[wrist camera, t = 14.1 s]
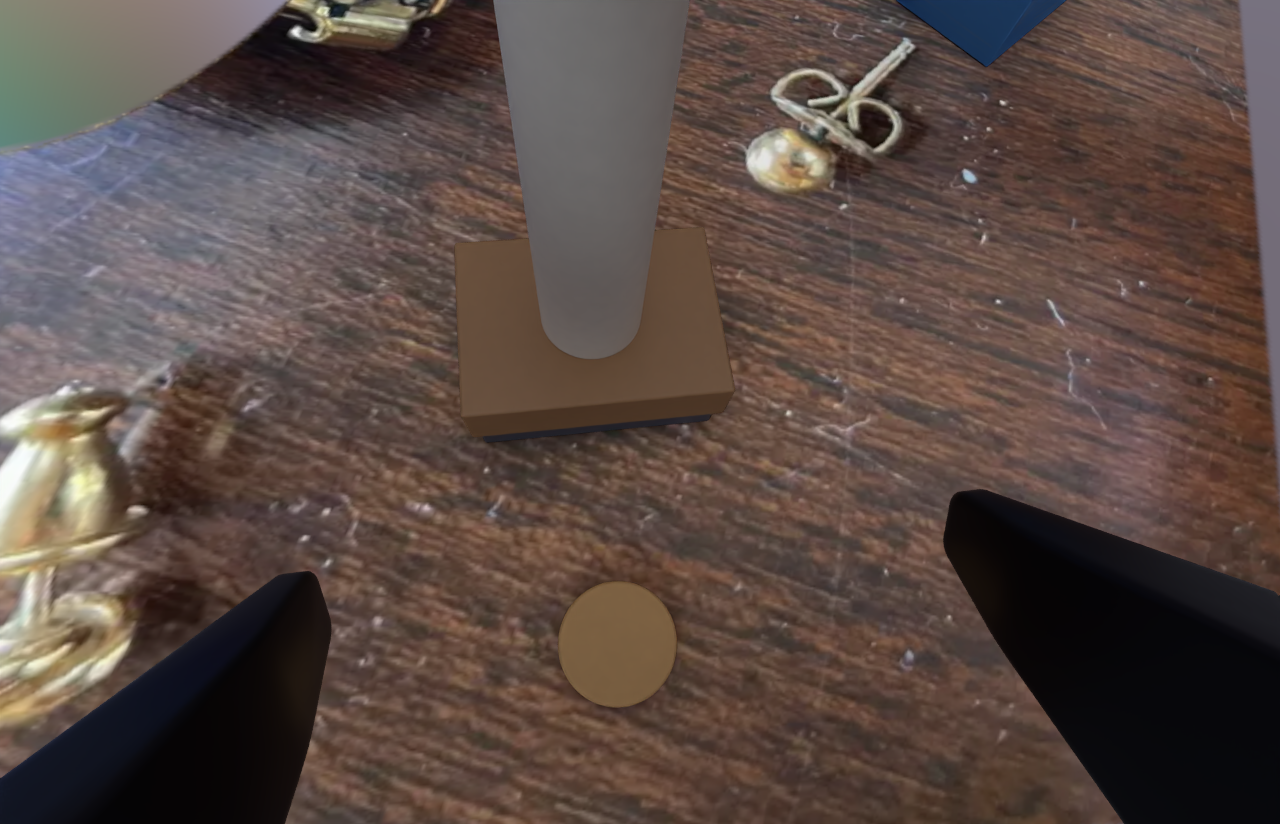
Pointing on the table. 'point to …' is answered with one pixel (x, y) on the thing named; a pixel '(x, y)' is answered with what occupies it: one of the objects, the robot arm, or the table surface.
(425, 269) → the table surface
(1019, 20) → the perfume bottle
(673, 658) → the disc
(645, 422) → the stamp
